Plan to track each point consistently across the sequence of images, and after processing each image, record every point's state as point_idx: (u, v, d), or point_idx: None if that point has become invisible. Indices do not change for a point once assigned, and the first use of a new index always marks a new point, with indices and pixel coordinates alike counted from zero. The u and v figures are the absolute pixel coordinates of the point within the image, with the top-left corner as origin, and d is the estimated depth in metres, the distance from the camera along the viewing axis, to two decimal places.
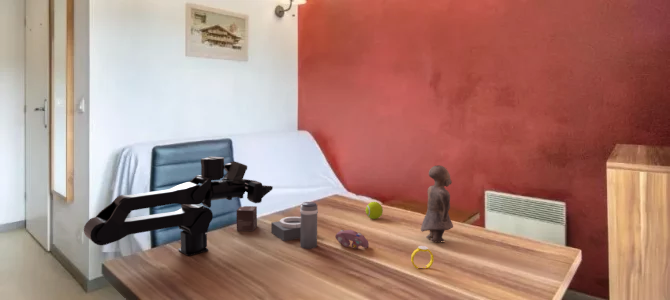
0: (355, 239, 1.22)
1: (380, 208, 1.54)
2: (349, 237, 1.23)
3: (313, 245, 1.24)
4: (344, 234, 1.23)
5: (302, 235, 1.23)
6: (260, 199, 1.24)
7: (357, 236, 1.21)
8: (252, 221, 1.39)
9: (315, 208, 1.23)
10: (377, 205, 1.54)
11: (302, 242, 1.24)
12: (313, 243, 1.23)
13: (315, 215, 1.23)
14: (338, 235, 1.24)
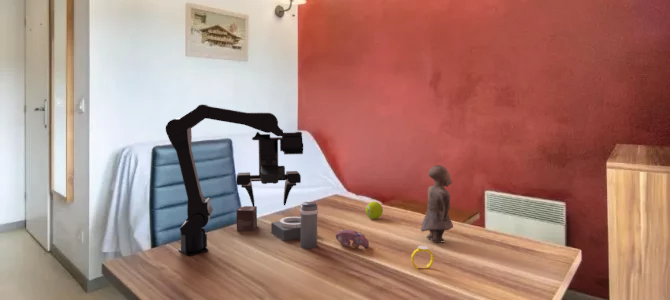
0: (355, 239, 1.22)
1: (380, 208, 1.54)
2: (350, 237, 1.23)
3: (313, 245, 1.24)
4: (344, 234, 1.23)
5: (302, 235, 1.23)
6: None
7: (357, 236, 1.21)
8: (252, 221, 1.39)
9: (315, 208, 1.23)
10: (377, 205, 1.54)
11: (302, 242, 1.24)
12: (313, 243, 1.23)
13: (315, 215, 1.23)
14: (338, 235, 1.24)
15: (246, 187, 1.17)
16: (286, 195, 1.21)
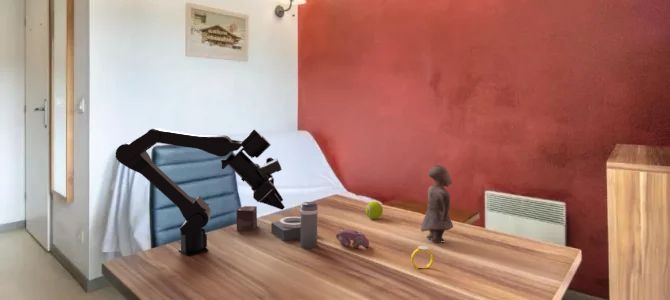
0: (355, 238, 1.22)
1: (380, 208, 1.54)
2: (350, 237, 1.23)
3: (313, 245, 1.24)
4: (345, 233, 1.24)
5: (302, 235, 1.23)
6: (259, 198, 1.12)
7: (358, 235, 1.22)
8: (252, 221, 1.39)
9: (315, 208, 1.23)
10: (377, 205, 1.54)
11: (302, 242, 1.24)
12: (313, 243, 1.23)
13: (315, 215, 1.23)
14: (339, 234, 1.25)
15: None
16: (277, 191, 1.27)
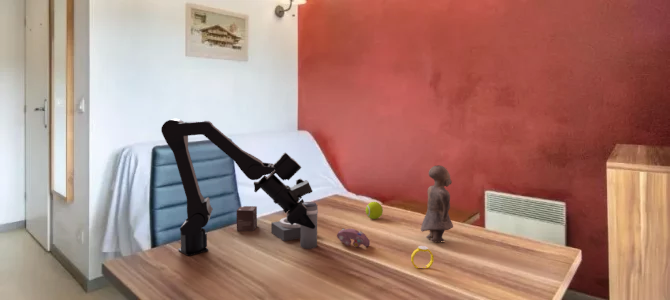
0: (356, 238, 1.23)
1: (380, 208, 1.54)
2: (351, 236, 1.24)
3: (313, 245, 1.24)
4: (345, 233, 1.24)
5: (302, 235, 1.23)
6: (293, 221, 1.14)
7: (358, 235, 1.22)
8: (252, 221, 1.39)
9: (315, 208, 1.23)
10: (377, 205, 1.54)
11: (302, 242, 1.24)
12: (313, 243, 1.23)
13: (315, 215, 1.23)
14: (339, 234, 1.25)
15: None
16: None
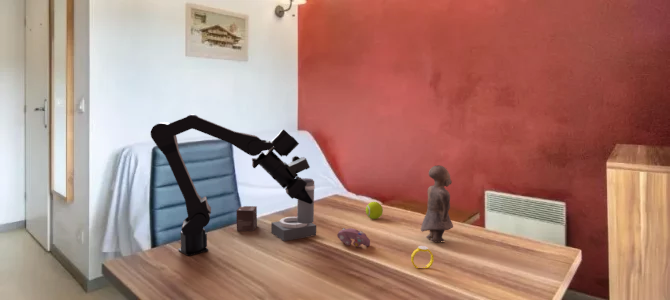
0: (356, 237, 1.23)
1: (380, 208, 1.54)
2: (351, 236, 1.24)
3: (310, 220, 1.26)
4: (346, 232, 1.25)
5: (300, 210, 1.26)
6: (294, 195, 1.17)
7: (359, 234, 1.23)
8: (252, 221, 1.39)
9: (312, 184, 1.26)
10: (377, 205, 1.54)
11: (299, 217, 1.26)
12: (310, 218, 1.26)
13: (312, 191, 1.26)
14: (340, 233, 1.25)
15: None
16: None
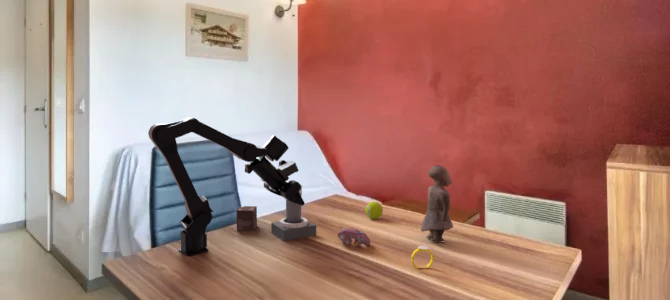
0: (357, 237, 1.23)
1: (380, 208, 1.54)
2: (351, 235, 1.25)
3: (299, 222, 1.35)
4: (346, 232, 1.25)
5: (289, 214, 1.34)
6: (291, 197, 1.24)
7: (359, 234, 1.23)
8: (252, 221, 1.39)
9: (301, 188, 1.34)
10: (377, 205, 1.54)
11: (289, 220, 1.34)
12: (299, 220, 1.35)
13: (301, 194, 1.35)
14: (340, 233, 1.26)
15: None
16: None
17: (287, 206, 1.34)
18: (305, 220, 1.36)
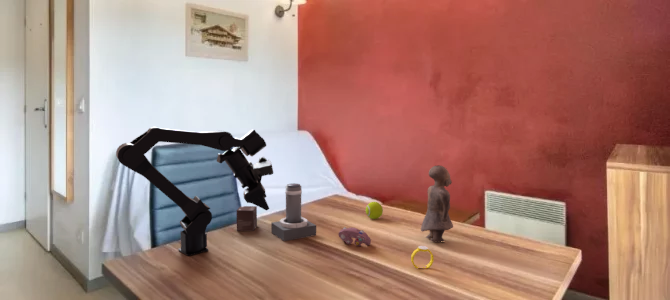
0: (357, 236, 1.24)
1: (380, 208, 1.54)
2: (352, 235, 1.25)
3: (299, 222, 1.35)
4: (347, 232, 1.25)
5: (289, 214, 1.33)
6: (250, 200, 1.18)
7: (360, 233, 1.23)
8: (252, 221, 1.39)
9: (300, 188, 1.34)
10: (377, 205, 1.54)
11: (289, 221, 1.34)
12: (299, 220, 1.35)
13: (300, 195, 1.34)
14: (341, 233, 1.26)
15: None
16: None
17: (287, 206, 1.34)
18: (305, 220, 1.36)
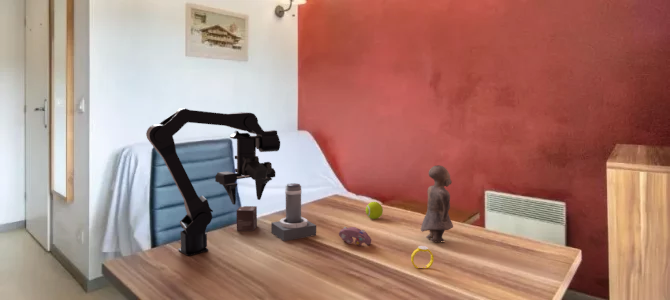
0: (358, 236, 1.24)
1: (380, 208, 1.54)
2: (353, 234, 1.26)
3: (299, 222, 1.35)
4: (347, 231, 1.26)
5: (289, 214, 1.34)
6: (216, 180, 1.20)
7: (360, 233, 1.24)
8: (252, 221, 1.39)
9: (300, 188, 1.34)
10: (377, 205, 1.54)
11: (289, 220, 1.34)
12: (299, 220, 1.35)
13: (300, 194, 1.35)
14: (341, 232, 1.27)
15: (232, 185, 1.19)
16: (262, 190, 1.29)
17: (287, 206, 1.34)
18: (305, 220, 1.36)
